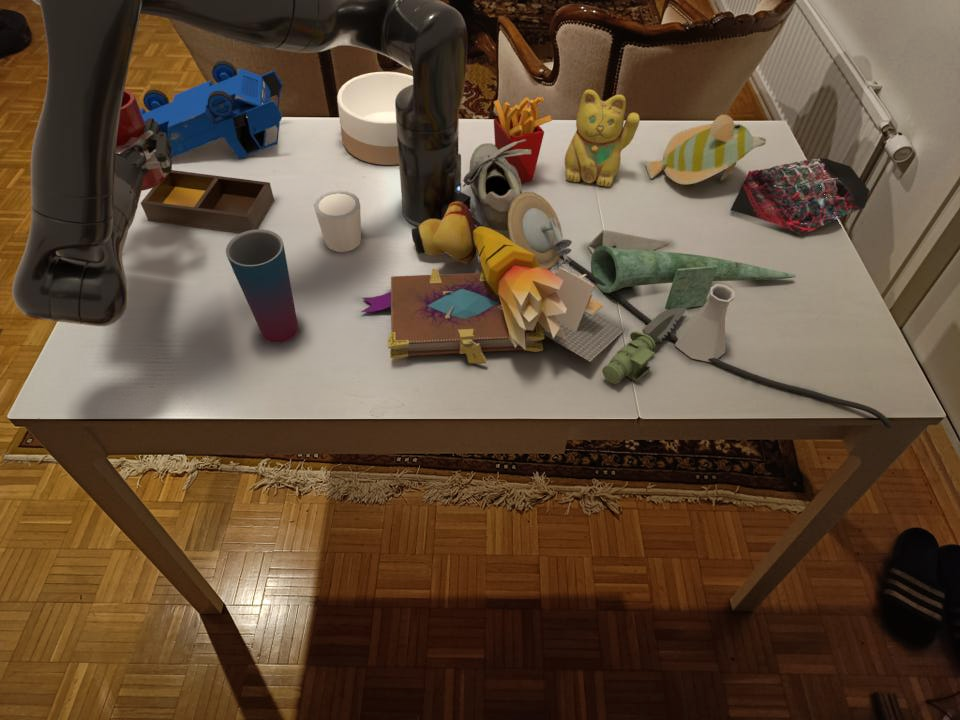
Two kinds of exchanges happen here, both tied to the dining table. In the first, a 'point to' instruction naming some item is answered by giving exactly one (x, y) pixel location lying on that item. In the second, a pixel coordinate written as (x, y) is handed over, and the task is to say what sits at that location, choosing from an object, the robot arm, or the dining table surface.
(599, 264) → the decorative horn
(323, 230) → the shot glass
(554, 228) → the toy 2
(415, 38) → the robot arm
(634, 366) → the knife
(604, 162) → the figurine
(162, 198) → the caddy
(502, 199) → the shoe
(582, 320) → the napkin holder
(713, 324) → the flask
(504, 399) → the dining table surface
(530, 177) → the french fries
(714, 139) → the decorative fish sculpture
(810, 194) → the fabric swatch
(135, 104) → the tumbler
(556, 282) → the torch
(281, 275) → the cup
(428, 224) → the toy
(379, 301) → the book
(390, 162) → the bowl
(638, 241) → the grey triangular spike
